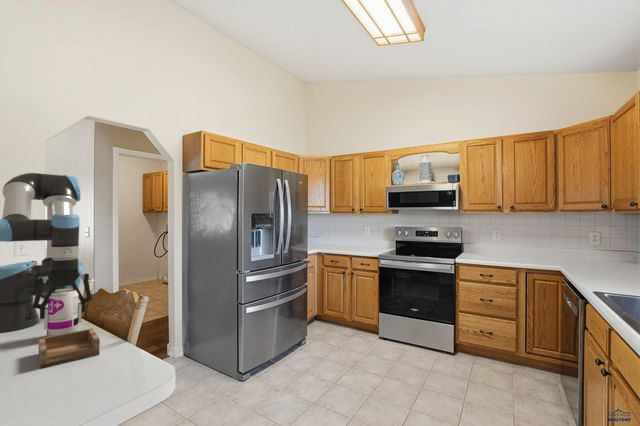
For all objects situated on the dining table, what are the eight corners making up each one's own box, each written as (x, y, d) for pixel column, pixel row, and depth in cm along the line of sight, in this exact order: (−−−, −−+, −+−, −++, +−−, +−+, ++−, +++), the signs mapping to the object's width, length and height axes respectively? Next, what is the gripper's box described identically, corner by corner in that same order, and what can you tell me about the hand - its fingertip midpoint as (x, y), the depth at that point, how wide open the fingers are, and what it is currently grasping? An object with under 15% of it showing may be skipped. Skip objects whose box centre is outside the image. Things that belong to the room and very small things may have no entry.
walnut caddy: (38, 353, 93) (39, 338, 93) (92, 342, 102) (92, 328, 102) (40, 368, 83) (40, 351, 84) (99, 354, 92) (99, 339, 92)
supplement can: (60, 340, 103) (61, 294, 103) (40, 338, 104) (41, 292, 105) (83, 331, 111) (84, 288, 111) (64, 329, 112) (65, 287, 113)
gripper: (22, 262, 98) (20, 335, 97) (103, 257, 112) (101, 321, 112) (22, 260, 103) (20, 329, 103) (99, 255, 118) (98, 316, 117)
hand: (62, 324), depth 107 cm, fingers closed on supplement can, 8 cm apart
